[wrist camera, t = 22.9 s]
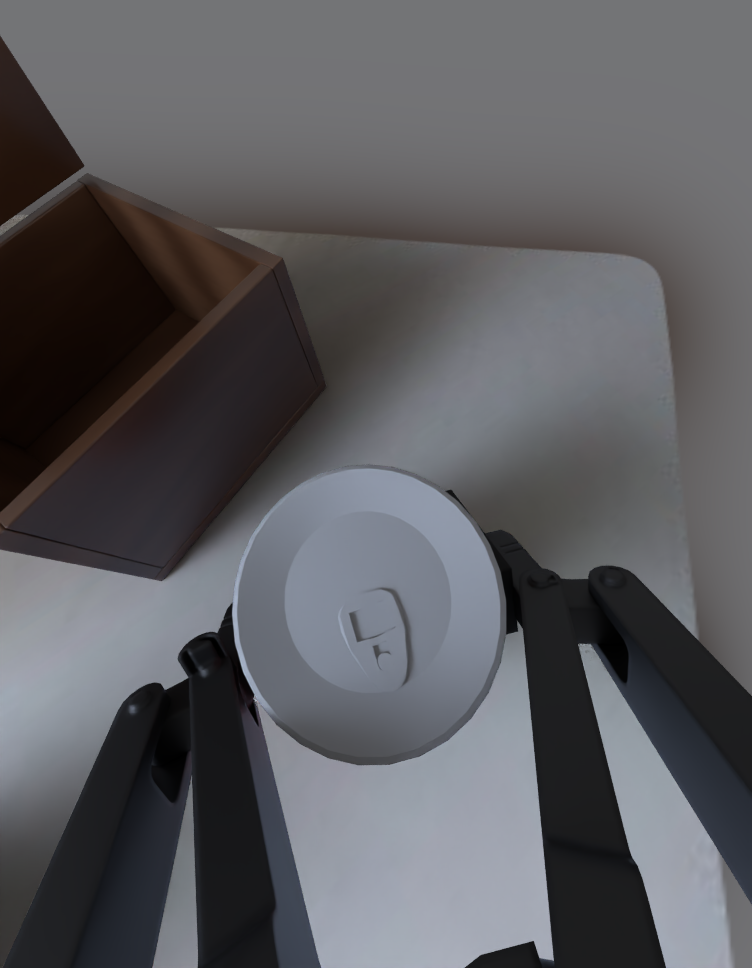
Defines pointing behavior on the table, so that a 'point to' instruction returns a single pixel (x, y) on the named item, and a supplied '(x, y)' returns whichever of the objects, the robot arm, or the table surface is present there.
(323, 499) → the canned food
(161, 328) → the bin
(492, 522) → the table surface
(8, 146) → the bin lid
